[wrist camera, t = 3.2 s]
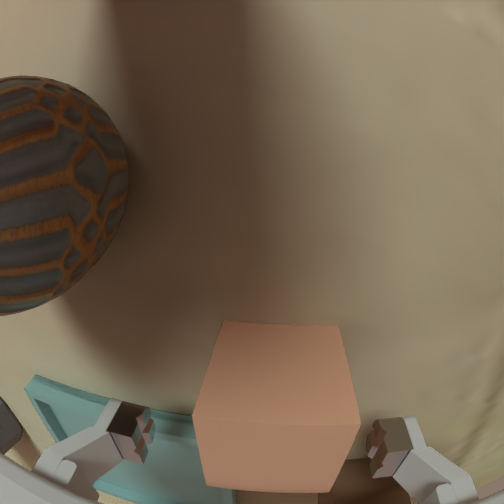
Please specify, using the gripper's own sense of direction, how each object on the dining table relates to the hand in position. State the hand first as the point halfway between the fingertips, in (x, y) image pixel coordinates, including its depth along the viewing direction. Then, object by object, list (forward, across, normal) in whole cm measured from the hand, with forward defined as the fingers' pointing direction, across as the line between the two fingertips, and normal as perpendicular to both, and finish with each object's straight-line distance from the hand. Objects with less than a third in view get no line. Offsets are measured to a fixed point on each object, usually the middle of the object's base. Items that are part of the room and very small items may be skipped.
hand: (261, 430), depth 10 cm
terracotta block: (+3, 0, 0) cm, 3 cm away
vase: (+4, +8, -8) cm, 12 cm away
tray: (+3, +8, +10) cm, 13 cm away
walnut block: (+3, -6, +10) cm, 12 cm away
